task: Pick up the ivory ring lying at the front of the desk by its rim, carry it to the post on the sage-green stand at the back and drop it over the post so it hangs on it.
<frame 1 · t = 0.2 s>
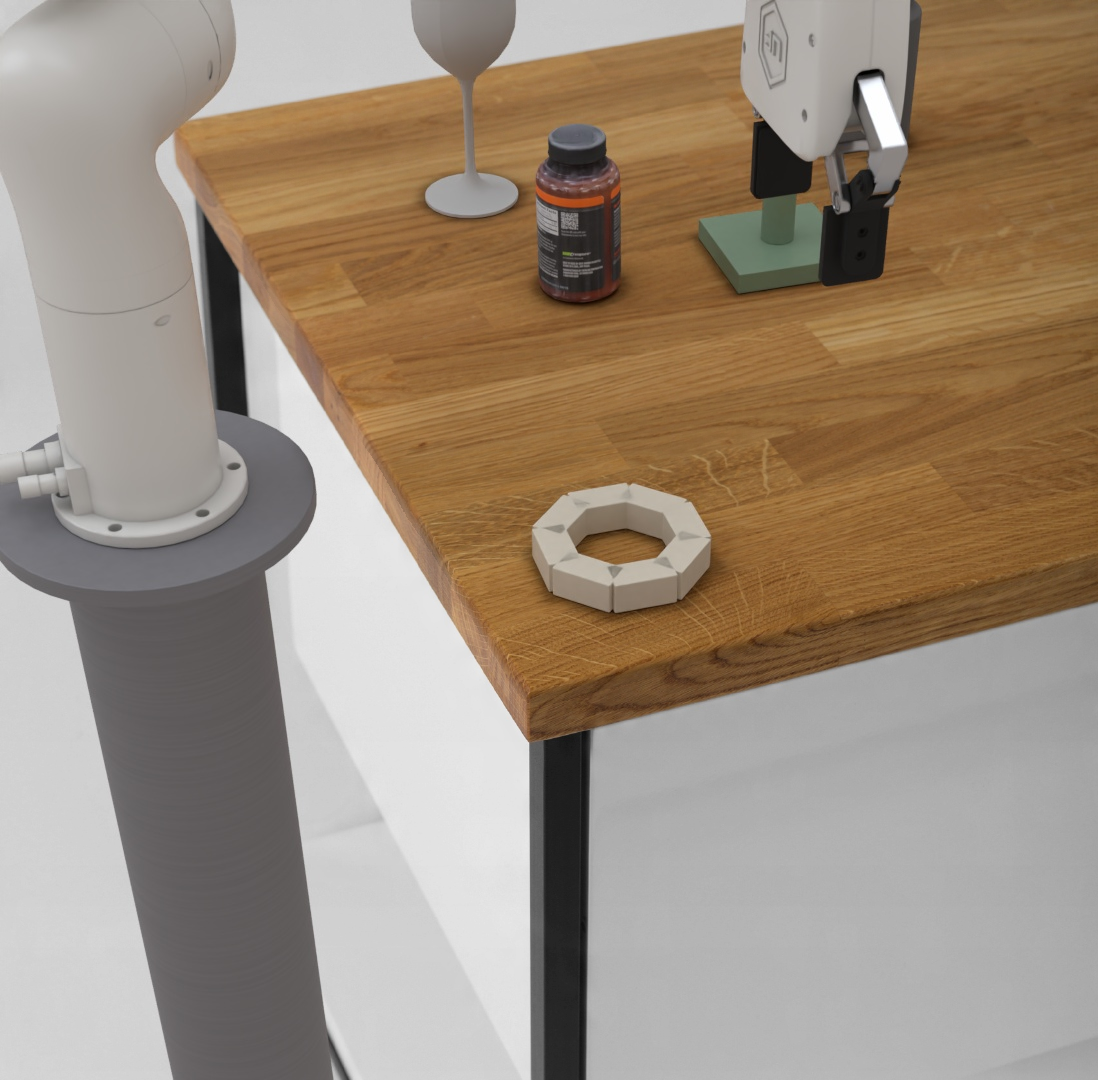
hand: (814, 235, 103), 23 cm above the table, tool pointing down, fingers open, 9 cm apart
bottle: (870, 142, 164), on the table
ring: (620, 559, 122), on the table
supplement bottle: (579, 288, 147), on the table
wineglass: (471, 198, 158), on the table
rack: (775, 256, 150), on the table
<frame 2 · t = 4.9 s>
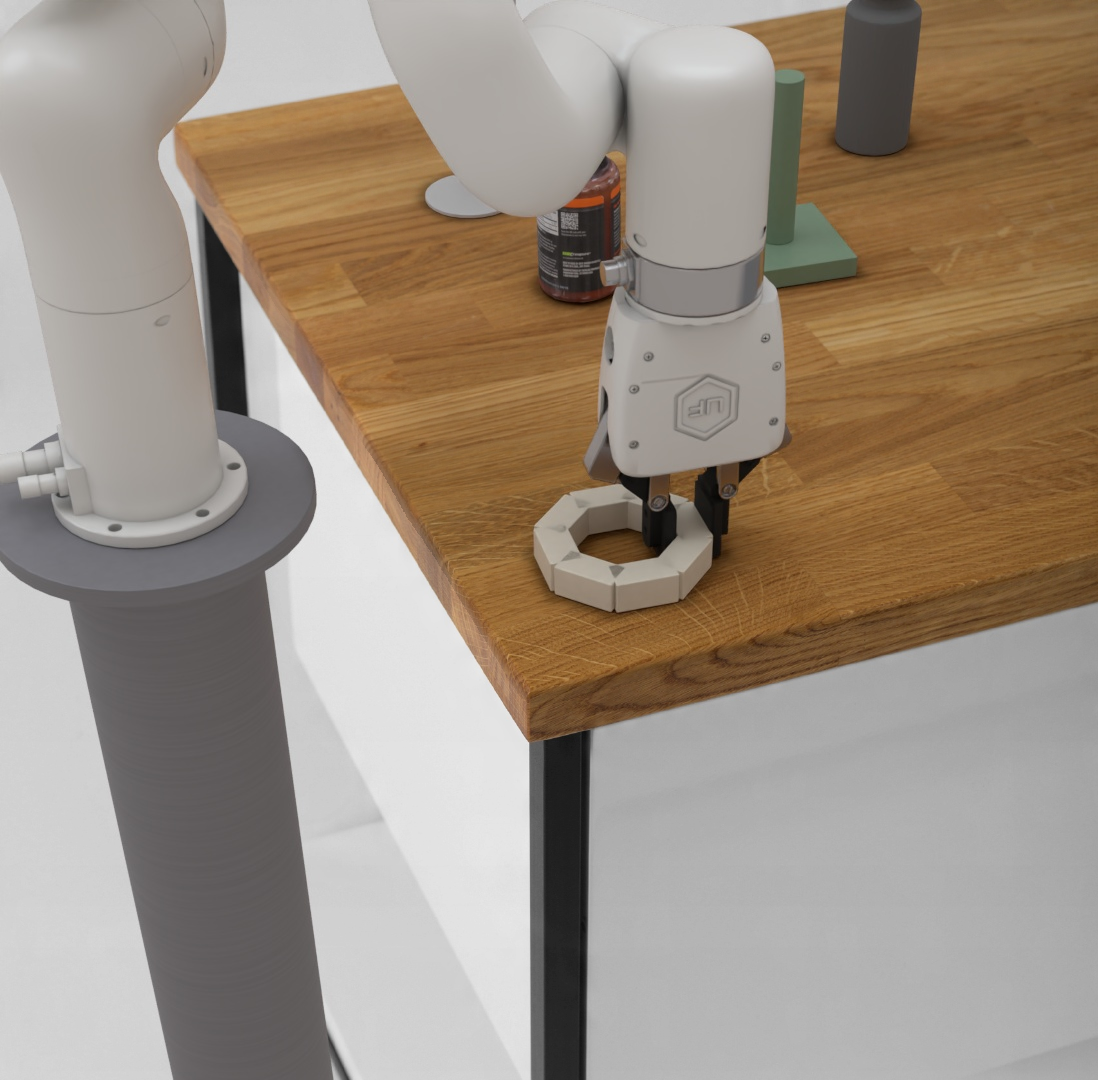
hand: (684, 546, 123), 0 cm above the table, tool pointing down, fingers closed on ring, 2 cm apart
ring: (622, 559, 122), on the table, touching gripper
everything else where it was.
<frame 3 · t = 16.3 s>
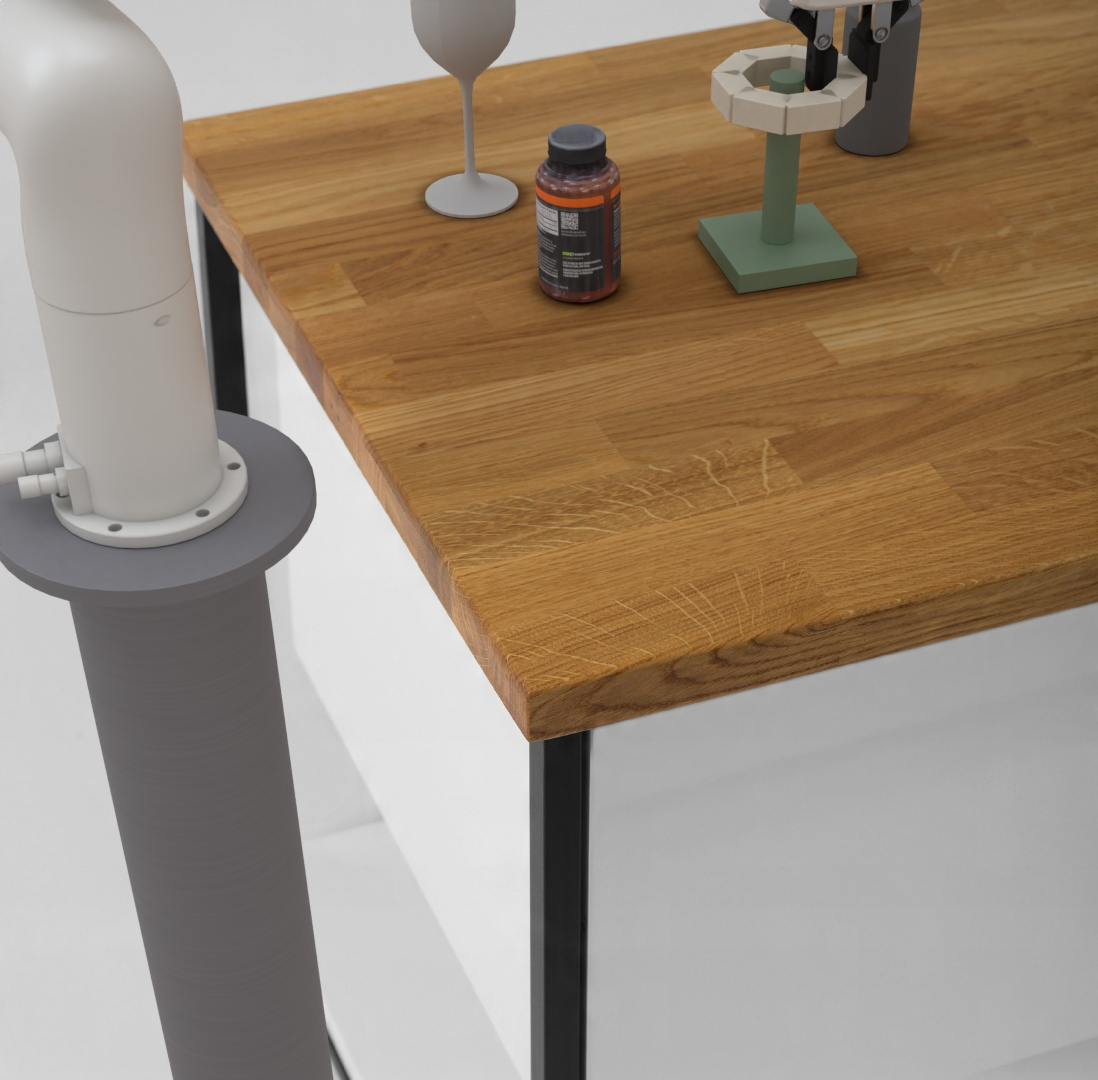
hand: (839, 93, 143), 12 cm above the table, tool pointing down, fingers closed on ring
ring: (787, 102, 142), point 12 cm above the table, touching gripper
everything else where it was.
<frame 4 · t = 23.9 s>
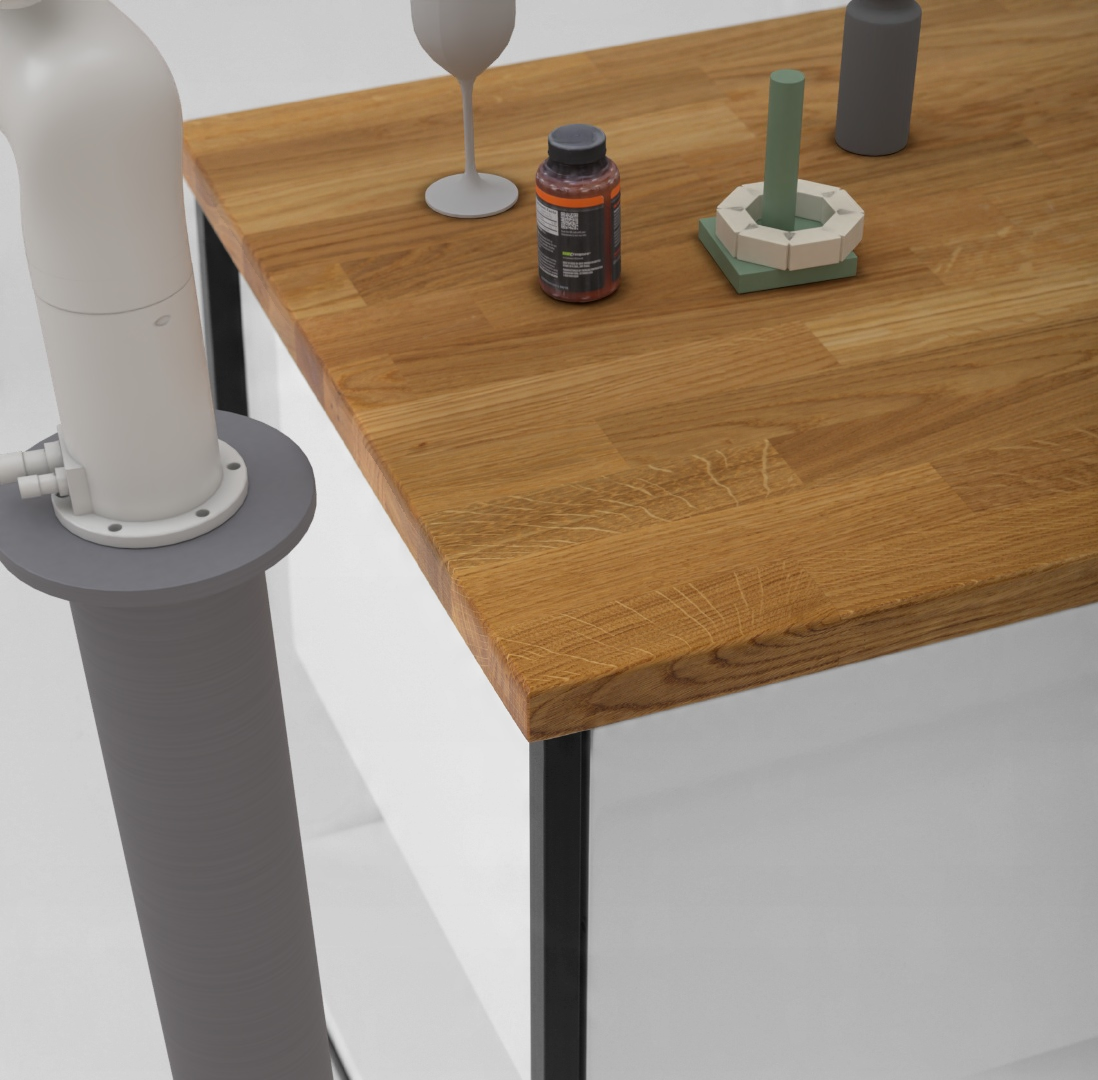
ring: (788, 235, 149), point 1 cm above the table, touching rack
everything else where it was.
at the end: ring 0.9 cm from the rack (horizontally); ring point 1.5 cm above the table; the gripper is holding nothing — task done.
